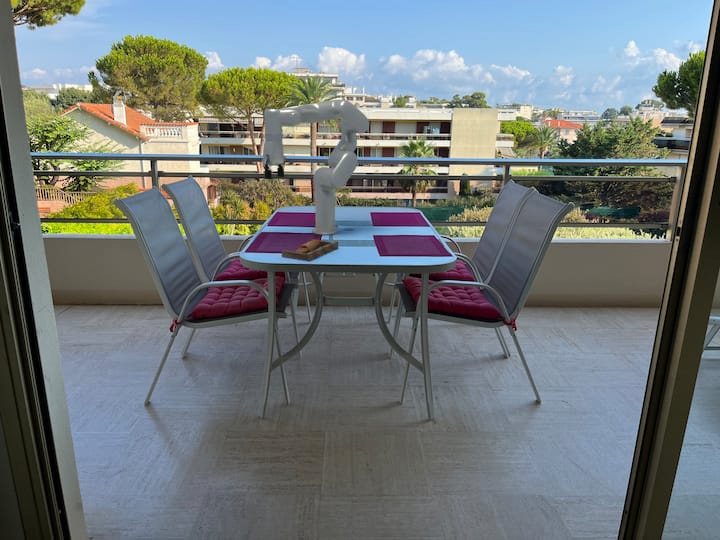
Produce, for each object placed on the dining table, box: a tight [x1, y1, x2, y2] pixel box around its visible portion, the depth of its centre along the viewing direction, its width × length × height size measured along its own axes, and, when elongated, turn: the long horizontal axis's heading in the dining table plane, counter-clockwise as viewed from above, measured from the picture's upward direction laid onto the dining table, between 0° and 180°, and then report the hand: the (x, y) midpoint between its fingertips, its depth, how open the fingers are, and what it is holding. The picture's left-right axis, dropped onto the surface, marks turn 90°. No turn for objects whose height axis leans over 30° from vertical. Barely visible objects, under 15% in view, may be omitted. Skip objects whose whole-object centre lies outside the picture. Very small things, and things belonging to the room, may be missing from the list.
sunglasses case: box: [294, 239, 321, 254], centre depth 225 cm, size 18×7×7 cm
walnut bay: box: [281, 238, 339, 262], centre depth 224 cm, size 24×13×3 cm, turn 154°
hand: (274, 177), depth 237 cm, fingers open, 9 cm apart
